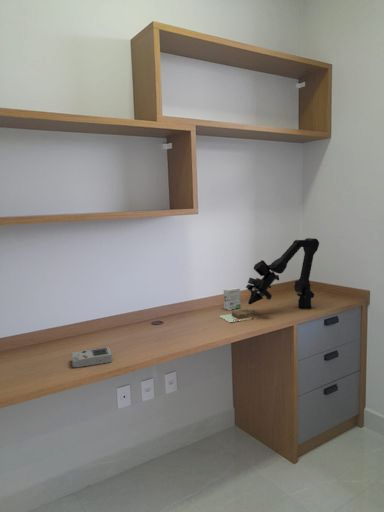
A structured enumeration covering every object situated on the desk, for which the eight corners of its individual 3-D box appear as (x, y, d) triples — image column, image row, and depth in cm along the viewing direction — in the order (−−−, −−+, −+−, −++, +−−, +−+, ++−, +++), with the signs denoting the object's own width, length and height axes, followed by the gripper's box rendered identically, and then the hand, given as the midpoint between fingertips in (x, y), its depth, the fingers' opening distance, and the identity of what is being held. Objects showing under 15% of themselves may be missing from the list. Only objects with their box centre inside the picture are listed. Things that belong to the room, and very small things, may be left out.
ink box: (235, 306, 225) (235, 287, 224) (240, 308, 221) (240, 288, 219) (223, 309, 221) (223, 289, 219) (229, 310, 216) (228, 290, 215)
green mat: (242, 313, 210) (242, 312, 210) (254, 319, 197) (254, 318, 197) (218, 316, 206) (218, 315, 206) (230, 323, 193) (230, 322, 193)
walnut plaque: (246, 309, 208) (231, 311, 205) (253, 312, 200) (238, 314, 197) (246, 313, 208) (231, 315, 205) (254, 317, 200) (238, 319, 197)
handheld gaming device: (72, 361, 152) (71, 351, 152) (109, 355, 157) (109, 346, 156) (72, 369, 144) (72, 360, 144) (112, 363, 148) (111, 354, 148)
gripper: (248, 269, 212) (231, 291, 209) (266, 274, 194) (247, 298, 192) (261, 282, 215) (244, 303, 213) (279, 288, 198) (261, 311, 195)
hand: (248, 304), depth 203 cm, fingers closed
